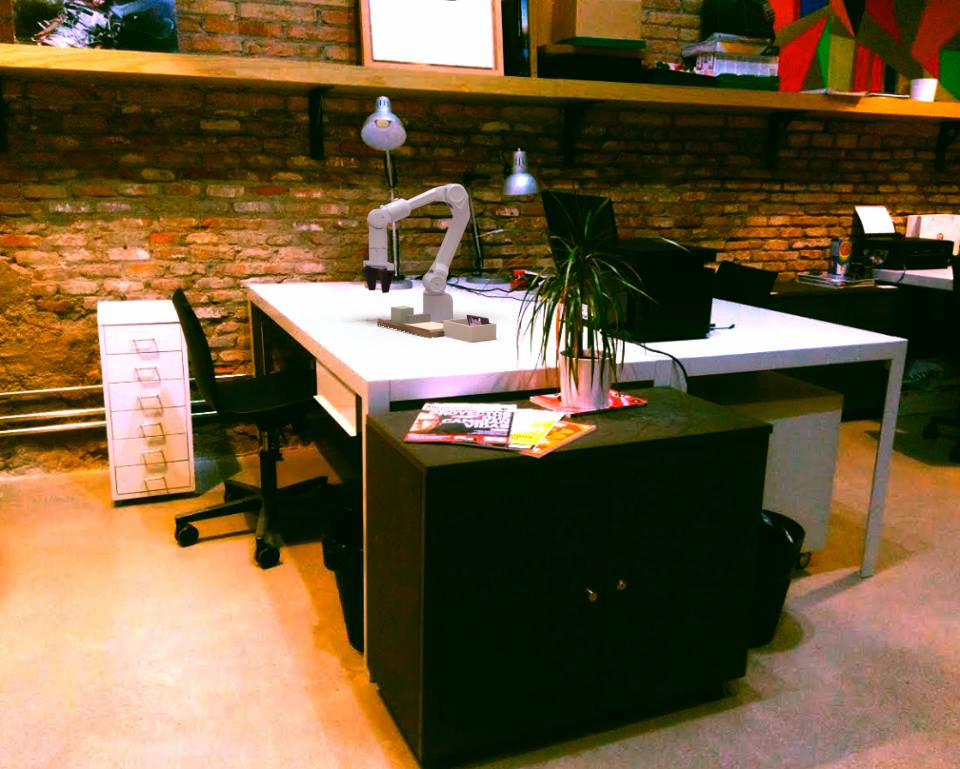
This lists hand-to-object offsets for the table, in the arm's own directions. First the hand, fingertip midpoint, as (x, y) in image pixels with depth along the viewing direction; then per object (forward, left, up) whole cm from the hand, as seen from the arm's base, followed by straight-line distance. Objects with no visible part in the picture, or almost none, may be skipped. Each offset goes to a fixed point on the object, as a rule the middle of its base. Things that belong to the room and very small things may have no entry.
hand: (378, 291), depth 271 cm
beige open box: (-6, +38, -10) cm, 40 cm away
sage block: (-1, +12, -10) cm, 15 cm away
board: (-1, +19, -10) cm, 21 cm away
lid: (-2, +25, -8) cm, 26 cm away
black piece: (-8, +40, -10) cm, 42 cm away
